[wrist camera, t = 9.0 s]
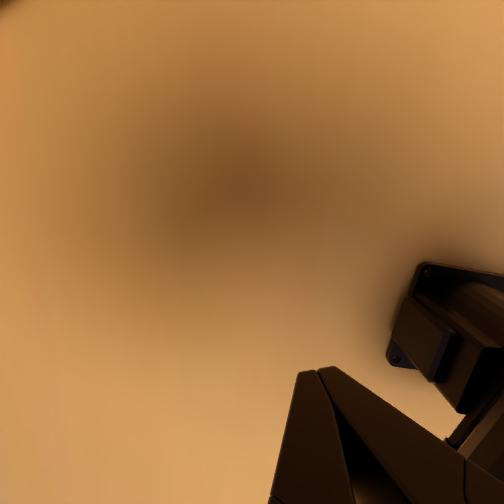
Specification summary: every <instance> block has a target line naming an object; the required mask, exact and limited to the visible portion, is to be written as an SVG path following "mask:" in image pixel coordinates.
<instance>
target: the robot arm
mask: <svg viewBox="0 0 504 504" xmlns="http://www.w3.org/2000/svg"><path fill="white" fill-rule="evenodd" d="M426 269H429V272H428V273H427V274H424V272H425V270H426ZM395 356H398V357H397V358H396V359H393V358H394V357H395ZM386 359H387V361H388V362H389V364H390V365H391V366H394V367H401V368H408V369H416V370H419V372H420V373H421V374H422V375H423V376H424V378H425V379H426V380H427V381H428V382H429V383H433V384H434V385H435V386H436V388H437V389H438V390H439V391H440V393H441V394H442V395H443V396H444V397H445V399H446V400H447V401H448V402H449V403H450V405H451V406H452V407H453V408H454V410H455V411H456V412H457V413H459V414H465V417H464V418H463V419H462V421H461V422H460V423H459V425H458V426H457V427H456V429H455V430H454V431H453V433H452V434H451V435H450V437H449V438H447V437H446V438H445V439H444V440H443V441H442V440H440V439H439V438H438V437H436V436H435V435H433V434H432V433H430V432H429V431H428V430H426V429H425V428H423V427H422V426H420V425H419V424H417V423H416V422H415V421H413V420H412V419H410V418H409V417H407V416H406V415H405V414H403V413H402V412H400V411H399V410H397V409H396V408H395V407H393V406H392V405H390V404H389V403H387V402H386V401H384V400H383V399H382V398H380V397H379V396H377V395H376V394H374V393H373V392H372V391H370V390H369V389H367V388H366V387H364V386H363V385H362V384H360V383H359V382H357V381H356V380H354V379H353V378H352V377H350V376H349V375H347V374H346V373H344V372H343V371H341V370H340V369H339V368H337V367H335V366H330V367H325V368H319V369H318V370H317V371H316V370H308V371H302V372H299V373H298V374H297V378H296V383H295V387H294V391H293V396H292V400H291V404H290V409H289V413H288V418H287V422H286V426H285V431H284V435H283V439H282V444H281V448H280V453H279V457H278V461H277V466H276V470H275V474H274V479H273V483H272V488H271V492H270V497H269V500H268V504H504V275H501V274H495V273H490V272H484V271H478V270H473V269H467V268H461V267H455V266H450V265H444V264H438V263H433V262H423V263H421V264H420V265H419V266H418V267H417V269H416V272H415V275H414V278H413V280H412V283H411V286H410V289H409V292H408V295H407V297H406V298H405V299H404V301H403V304H402V307H401V310H400V313H399V315H398V318H397V321H396V324H395V327H394V330H393V332H392V340H391V343H390V346H389V348H388V351H387V354H386Z"/></svg>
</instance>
